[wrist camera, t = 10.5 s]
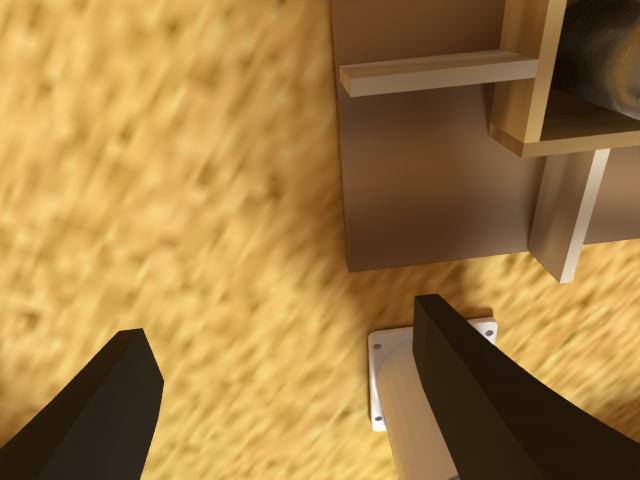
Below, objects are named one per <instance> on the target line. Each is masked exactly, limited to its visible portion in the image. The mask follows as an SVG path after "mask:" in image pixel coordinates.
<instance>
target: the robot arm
mask: <svg viewBox="0 0 640 480" xmlns="http://www.w3.org/2000/svg"><path fill="white" fill-rule="evenodd" d="M497 328H498V323H497V321H496V320H495V319H494V318H492V317H487V318H479V319H471V320H465V319H464V318H463V317H462V316H461V315H460V314H459V313H458V312H457V311H456V310H455V309H454V308H453V307H452V306H451V305H449V304H448V303H447V302H446V301H445V300H444V299H443V298H442V297H441V296H440V295H439V294H429V295H420V296H415V302H414V322H413V327H405V328H397V329H389V330H381V331H375V332H372V333H370V335H369V337H368V349H369V380H370V411H371V427H372V429H373V430H374V431H385V430H387V434H388V438H389V442H390V446H391V450H392V454H393V459H394V463H395V467H396V471H397V475H398V479H399V480H640V444H639V443H637V442H635V441H634V440H632V439H630V438H628V437H626V436H625V435H623V434H621V433H620V432H618V431H616V430H615V429H613V428H611V427H609V426H608V425H606V424H604V423H603V422H601V421H599V420H598V419H596V418H594V417H593V416H591V415H589V414H588V413H586V412H585V411H583V410H581V409H580V408H578V407H577V406H575V405H574V404H572V403H571V402H569V401H568V400H566V399H565V398H563V397H562V396H560V395H559V394H557V393H556V392H554V391H553V390H551V389H550V388H549V387H547V386H546V385H544V384H543V383H541V382H540V381H539V380H537V379H536V378H535V377H533V376H532V375H531V374H529V373H528V372H527V371H526V370H524V369H523V368H522V367H520V366H519V365H518V364H517V363H515V362H514V361H513V360H512V359H510V358H509V357H508V356H507V355H505V354H504V353H503V352H502V351H501V350H499V349H498V348H497V347H496V346H495V345H494V344H495V339H496V334H497ZM488 330H489V331H488ZM376 344H379V345H376ZM163 386H164V380H163V377H162V375H161V372H160V370H159V367H158V365H157V362H156V360H155V358H154V355H153V353H152V350H151V348H150V345H149V343H148V340H147V338H146V335H145V333H144V331H143V328H140V329H131V330H123V331H119V332H117V333H116V334H115V335H114V336H113V337H112V338H111V339H110V340H109V341H108V343H107V344H106V345H105V346H104V347H103V348H102V349H101V350H100V351H99V352H98V353H97V354H96V355H95V356H94V357H93V358H92V359H91V360H90V361H89V363H88V364H87V365H86V366H85V367H84V368H83V369H82V370H81V371H80V372H79V373H78V374H77V375H76V376H75V377H74V378H73V379H72V380H71V381H70V382H69V383H68V384H67V385H66V386H65V387H64V388H63V390H62V391H61V392H60V393H59V394H58V395H57V396H56V397H55V398H54V399H53V400H52V401H51V402H50V403H49V404H48V405H46V406H45V407H44V408H43V409H42V410H41V411H40V412H39V413H38V414H37V415H36V416H35V417H34V418H33V419H32V420H31V421H30V422H29V423H28V424H27V425H26V426H25V427H24V428H23V429H21V430H20V431H19V432H18V433H17V434H16V435H15V436H14V437H13V438H12V439H11V440H10V441H9V442H8V443H6V444H5V445H4V446H3V447H2V448H1V449H0V480H140V478H141V474H142V471H143V468H144V465H145V461H146V458H147V455H148V451H149V448H150V445H151V441H152V438H153V435H154V431H155V428H156V424H157V421H158V416H159V411H160V405H161V399H162V393H163Z"/></svg>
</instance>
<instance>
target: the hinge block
mask: <svg viewBox="0 0 640 480" xmlns="http://www.w3.org/2000/svg"><path fill="white" fill-rule="evenodd" d="M578 1H580V0H331V12H332V28H333V44H334V61H335V77H336V93H337V110H338V126H339V142H340V159H341V175H342V192H343V208H344V224H345V241H346V257H347V266H348V270H349V273H350V272H359V271H367V270H376V269H384V268H392V267H401V266H409V265H418V264H426V263H435V262H443V261H451V260H460V259H468V258H477V257H485V256H494V255H502V254H511V253H519V252H527V251H529V252H530V253H531V254H532V255H533V256H534V257H535V258H536V260H537V261H538V262H539V263H540V264H541V265H542V266H543V267H544V268H545V269H546V270H547V271H548V272H549V273H550V274H551V275H552V276H553V277H554V278H555V279H556V280H557V281H558V282H559V283H568V282H572V280H573V277H574V273H575V270H576V266H577V263H578V259H579V256H580V252H581V249H582V246H583V245H587V244H595V243H603V242H612V241H620V240H629V239H637V238H640V120H637V119H634V118H632V117H629V116H626V115H624V114H621V113H618V112H615V111H613V110H610V109H607V108H605V107H602V106H599V105H596V104H594V103H591V102H588V101H585V100H583V99H580V98H577V97H575V96H572V95H569V94H566V93H564V92H561V91H558V90H556V89H554V88H552V87H551V86H550V84H551V79H552V74H553V69H554V64H555V59H556V54H557V48H558V43H559V38H560V33H561V28H562V23H563V18H564V13H565V10H566V9H567V8H569V7H570V6H571V5H573V4H574V3H576V2H578Z"/></svg>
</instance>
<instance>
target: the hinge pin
mask: <svg viewBox="0 0 640 480" xmlns="http://www.w3.org/2000/svg"><path fill="white" fill-rule="evenodd" d="M550 86H551V87H552V88H554V89H556V90H558V91H561V92H564V93H566V94H569V95H572V96H575V97H577V98H580V99H583V100H585V101H588V102H591V103H594V104H596V105H599V106H602V107H605V108H607V109H610V110H613V111H615V112H618V113H621V114H624V115H626V116H629V117H632V118H634V119H637V120H640V0H580V1H578V2H576V3H574V4H573V5H571V6H570V7H569V8H567V9H566V10H565V13H564V18H563V23H562V28H561V33H560V38H559V43H558V48H557V54H556V59H555V64H554V69H553V74H552V79H551V84H550Z"/></svg>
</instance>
